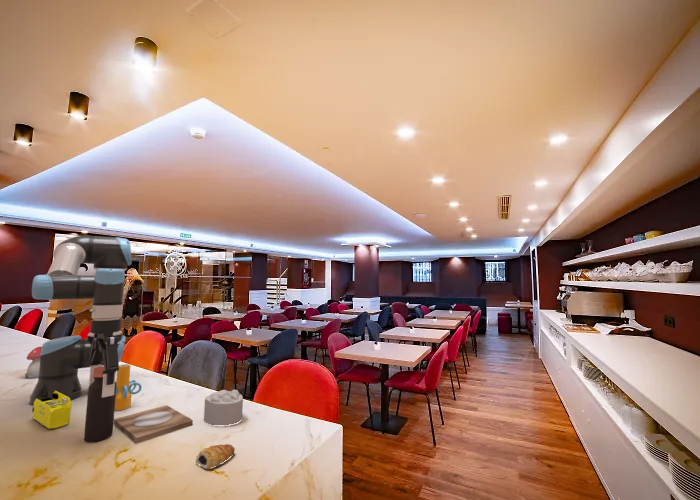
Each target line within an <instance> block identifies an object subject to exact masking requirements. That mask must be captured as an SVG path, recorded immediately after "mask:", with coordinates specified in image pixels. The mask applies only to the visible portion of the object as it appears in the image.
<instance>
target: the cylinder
mask: <svg viewBox="0 0 700 500" xmlns="http://www.w3.org/2000/svg"><path fill="white" fill-rule="evenodd" d="M130 376H131V364H130V363H126V364H119V370H118V371H116V377H115V382H116V397H115V410H114V412H115V411H123V410H127V409H129V408H130V407H131V404H132V395H136V394H138V393H140V392H141V391H142V384H141V383H140V382H137V381H136V380H134V379H131V380H130V378H131V377H130ZM132 386H133V387H132ZM137 386H138V389H137V391H134V390H135V389H136V388H137ZM131 387H132V388H131Z"/></svg>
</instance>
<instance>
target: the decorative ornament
mask: <svg viewBox="0 0 700 500" xmlns="http://www.w3.org/2000/svg"><path fill="white" fill-rule="evenodd" d="M41 349H42V346H36V347H35V348H33V349H32V350H31V351H30V352H28V354H27V356H26V360H28V361H31V362H30V363H29V364H28V366H27V369H26V372H25V375H24V376H25V379H27V378H31V379H37V378H36V377H38V378H39V368H40V358H41V356H40V354H41Z"/></svg>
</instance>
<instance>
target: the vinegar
mask: <svg viewBox="0 0 700 500" xmlns="http://www.w3.org/2000/svg"><path fill="white" fill-rule="evenodd" d="M103 371H105V367H104V366H102V367H97V368H95V369H94V374H93V378H94V382H93V383H92V384H91V385H90V386H89V385H88V388H87V397H86V398H87V400H86V411H85V420H84V421H85V422H84V424H85V425H84V434H83V435H84V436H83V441H84V442H86V443H98V442H101V441H104V440H107V439H108V438H110V437H111V436H112V435H113V434H114V419H115V411H114V410H115V397H116V381H115V388H114V395H112V396H107V397H103V398H102V388H103V375H104V374H102V372H103Z"/></svg>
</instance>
